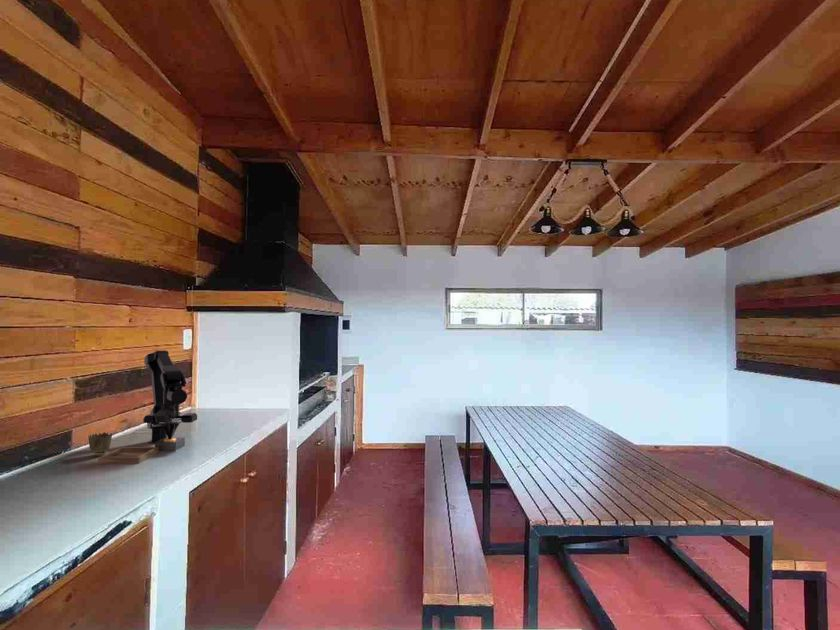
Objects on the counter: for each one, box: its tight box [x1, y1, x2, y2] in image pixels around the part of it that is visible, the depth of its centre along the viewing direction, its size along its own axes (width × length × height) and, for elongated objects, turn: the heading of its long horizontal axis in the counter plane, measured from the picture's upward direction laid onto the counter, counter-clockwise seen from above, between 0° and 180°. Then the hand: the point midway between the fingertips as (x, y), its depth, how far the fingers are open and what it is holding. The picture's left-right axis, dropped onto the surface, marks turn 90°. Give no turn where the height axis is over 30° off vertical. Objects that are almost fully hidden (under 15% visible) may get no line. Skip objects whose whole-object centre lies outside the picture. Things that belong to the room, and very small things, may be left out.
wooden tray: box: [97, 446, 160, 465], centre depth 162 cm, size 14×14×2 cm
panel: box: [154, 436, 186, 452], centre depth 175 cm, size 8×8×4 cm
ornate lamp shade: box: [87, 432, 113, 457], centre depth 165 cm, size 8×7×8 cm
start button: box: [164, 437, 176, 442], centre depth 175 cm, size 4×4×2 cm
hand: (170, 439), depth 175 cm, fingers closed, pressing on start button
